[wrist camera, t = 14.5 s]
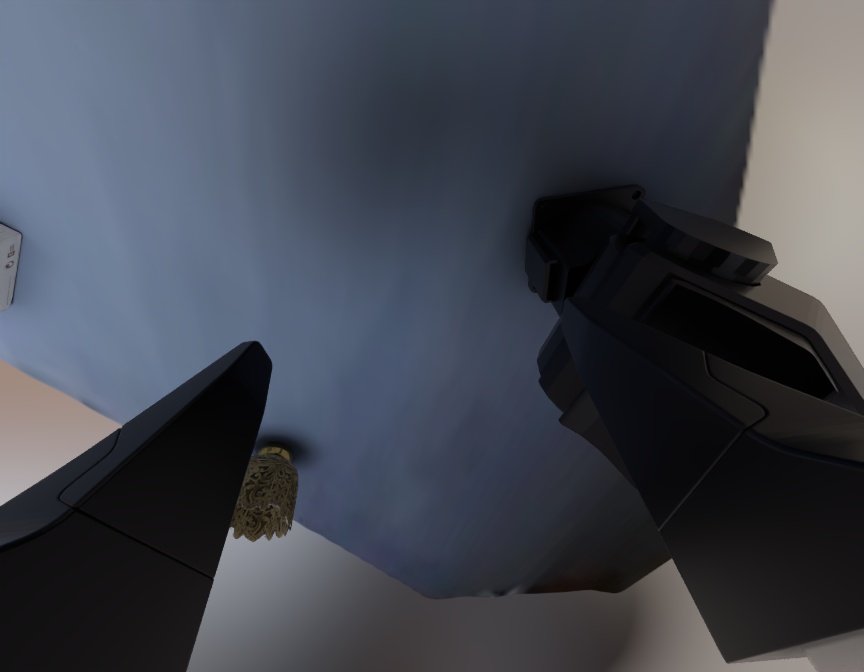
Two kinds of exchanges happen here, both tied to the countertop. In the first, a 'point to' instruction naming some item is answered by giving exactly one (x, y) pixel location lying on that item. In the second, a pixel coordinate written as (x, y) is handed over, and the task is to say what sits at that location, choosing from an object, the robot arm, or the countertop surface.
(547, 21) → the countertop surface
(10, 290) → the supplement box
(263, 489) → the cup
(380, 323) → the countertop surface
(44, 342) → the countertop surface
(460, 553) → the countertop surface
